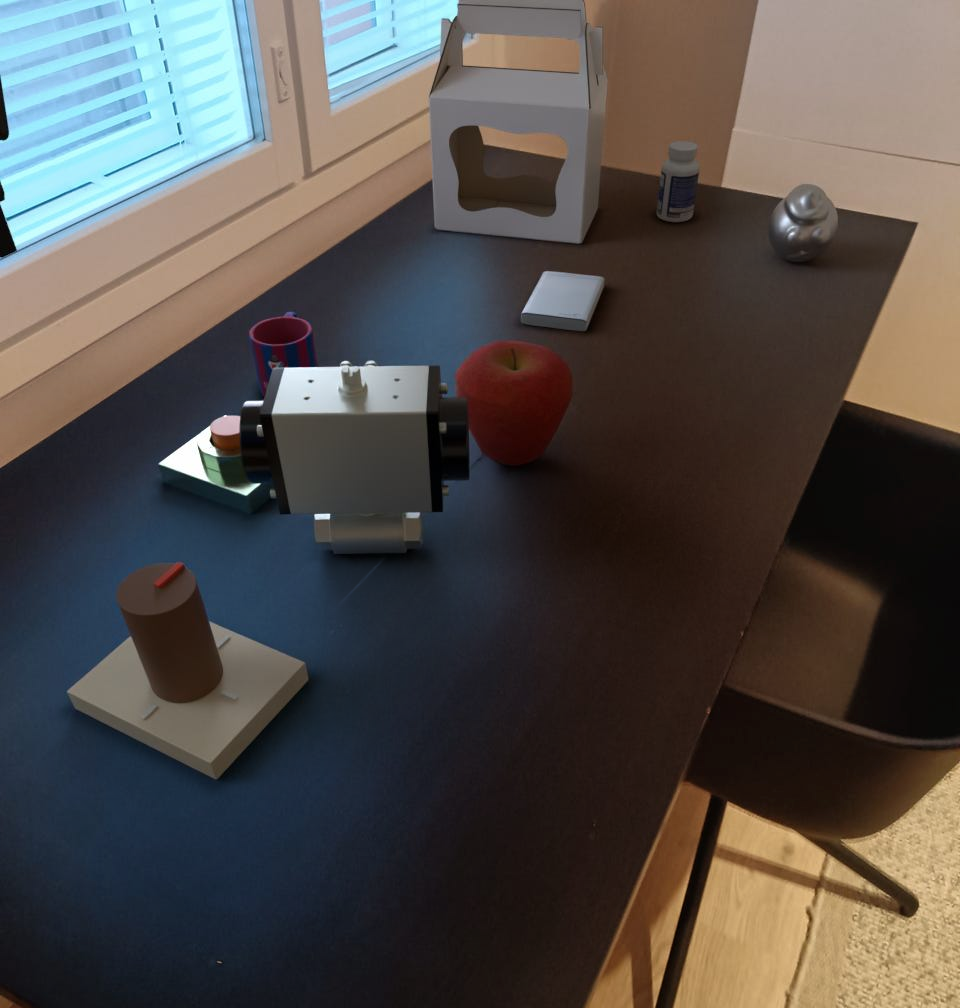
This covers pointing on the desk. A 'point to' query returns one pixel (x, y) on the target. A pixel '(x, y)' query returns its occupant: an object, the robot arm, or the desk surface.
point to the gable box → (517, 124)
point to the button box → (213, 474)
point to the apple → (514, 398)
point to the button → (226, 432)
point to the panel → (200, 723)
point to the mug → (281, 346)
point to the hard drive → (563, 301)
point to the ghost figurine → (803, 224)
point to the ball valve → (357, 450)
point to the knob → (171, 631)
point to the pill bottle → (678, 182)
